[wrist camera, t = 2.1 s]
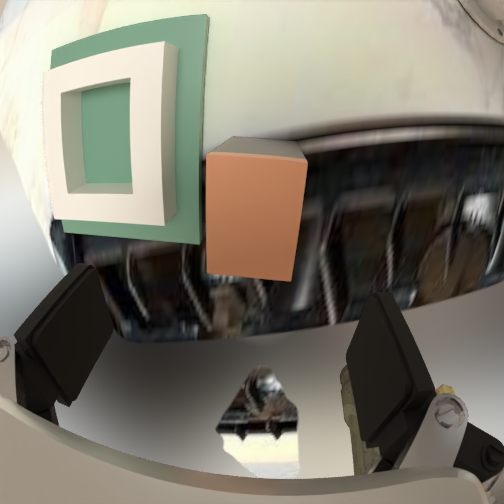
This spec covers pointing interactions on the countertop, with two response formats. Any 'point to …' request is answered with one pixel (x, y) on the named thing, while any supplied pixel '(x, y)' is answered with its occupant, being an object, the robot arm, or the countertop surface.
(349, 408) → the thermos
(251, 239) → the plug
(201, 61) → the board
